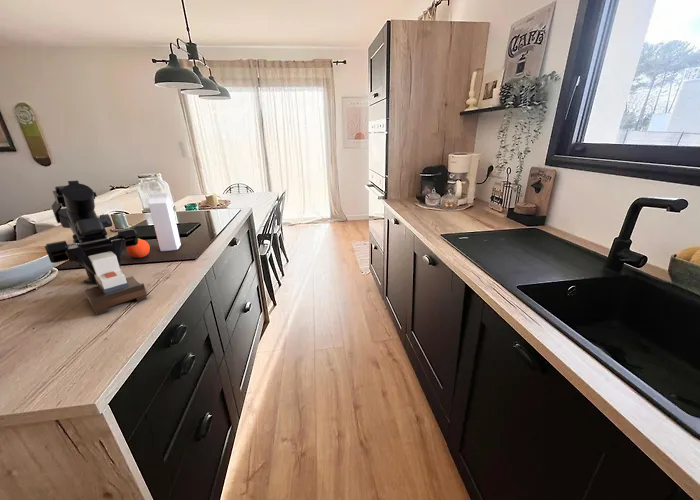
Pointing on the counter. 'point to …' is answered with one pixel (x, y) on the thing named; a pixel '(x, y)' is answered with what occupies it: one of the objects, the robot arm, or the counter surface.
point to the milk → (164, 222)
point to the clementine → (139, 249)
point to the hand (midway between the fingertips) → (107, 270)
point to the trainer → (108, 272)
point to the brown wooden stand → (115, 295)
